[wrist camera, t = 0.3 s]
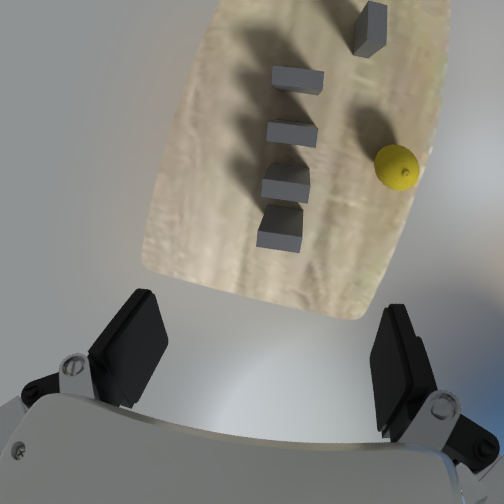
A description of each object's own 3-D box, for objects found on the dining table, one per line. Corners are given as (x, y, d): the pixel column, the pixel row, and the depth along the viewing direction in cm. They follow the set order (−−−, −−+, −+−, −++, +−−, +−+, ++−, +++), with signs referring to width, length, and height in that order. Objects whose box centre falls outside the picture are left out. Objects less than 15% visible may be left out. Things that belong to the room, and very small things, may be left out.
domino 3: (271, 163, 37) (262, 178, 29) (309, 168, 37) (310, 185, 29) (270, 177, 38) (260, 196, 30) (307, 182, 37) (307, 203, 30)
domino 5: (353, 55, 28) (367, 39, 20) (354, 22, 26) (368, 0, 18) (368, 58, 28) (386, 44, 20) (369, 26, 25) (387, 5, 18)
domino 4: (267, 204, 40) (257, 230, 32) (303, 210, 39) (302, 237, 32) (266, 218, 41) (256, 246, 33) (301, 223, 40) (299, 253, 33)
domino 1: (280, 76, 31) (272, 65, 23) (319, 80, 31) (324, 71, 23) (278, 90, 32) (271, 84, 24) (317, 95, 32) (322, 90, 24)
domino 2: (276, 119, 34) (267, 122, 26) (314, 124, 34) (317, 128, 26) (274, 134, 35) (265, 141, 27) (313, 139, 35) (315, 147, 27)
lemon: (360, 161, 35) (373, 175, 28) (386, 132, 32) (406, 139, 25) (388, 189, 36) (406, 208, 29) (413, 161, 33) (437, 174, 26)
